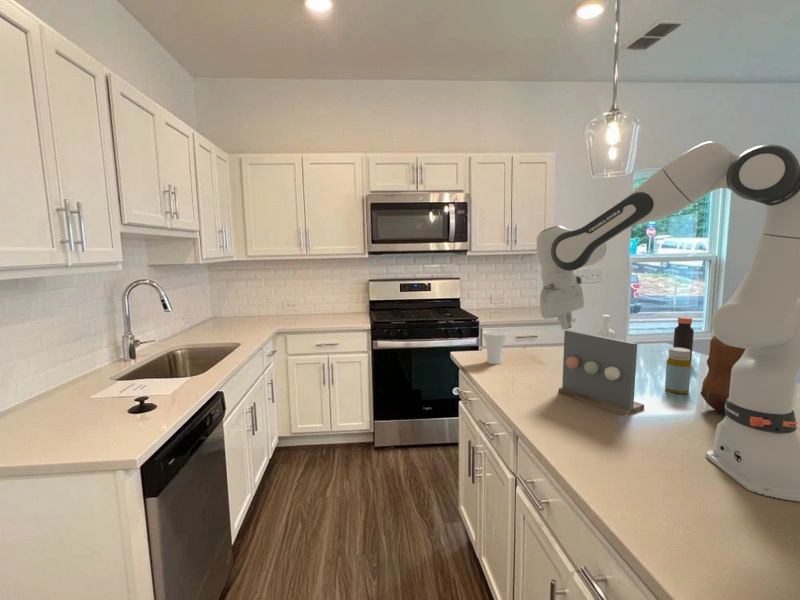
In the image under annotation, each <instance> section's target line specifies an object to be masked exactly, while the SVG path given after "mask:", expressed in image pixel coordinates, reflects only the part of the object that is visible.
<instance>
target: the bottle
mask: <svg viewBox="0 0 800 600" xmlns="http://www.w3.org/2000/svg"><path fill="white" fill-rule="evenodd" d="M690 353H691V351H690V350H689V349H686V348H679V347H673V346H672V347H669V349H668V358H667V359H666V366H665V380H664V389H665V390H666V391H667V392H669V393H672V394H676V393H678V395H685V394H686V395H687V394H688V393H689V391H690V383H691V371H692V361H691V362H690Z"/></svg>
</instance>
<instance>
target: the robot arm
mask: <svg viewBox="0 0 800 600" xmlns="http://www.w3.org/2000/svg"><path fill="white" fill-rule="evenodd" d="M719 189H728V190H730V191H731V192H732V193H733V194H734V195H736V196H737V197H740V198H742V199H743V200H747V201H753V202H757V203H760V204H763V205H764V207H765V213H766V215H765V219H764V222H763V227H762V229H761V233H760V236H759V239H758V242H757V245H756V250H755V252H754V255H753V259H752V262H751V264H750V267H749V268H748V271H747V273H746V275H745V276H744V278H743V280H742V281H741V282H740V284H739V286H738V287H737V289H736V290H735V292H734V294H732V296H731V297H730V298H729V300H728V301H726V302H725V303H724V304H723V305H722V306H720V307H719V308H718V309H716V311H715V312H714V313H713V316H712V318H711V329H712V332H713V334H714V335H715V336H716V337H717V338H718V339H719V340H720V341H721V342H723V343H724V344H726V345H729V346H733V347H738V348H745V351H744V353H743V355H742V356H741V358H740V359H739V360H738V361H737V362H736V363H735V364H734V366H733V367H732V370H731V379H730V389H729V398H727V399H726V403H725V413H724V414H725V416H724V418H723V419H722V420H721V421H720V422H718V424H716V429H715V435H714V439H713V443H712V444H713V447H712V449H711V450H707V451H706V453H705V457H706V458H707V459H708V460H709V461H711V462H712V463H713V464H715V465H716V466H717V467H719V469H721V470H722V471H723V472H725V473H726V474H727V475H728V476H730V477H731V478H732V479H733V480H735V481H736V482H737V483H739V484H740V485H741V486H742V487H744V488H745V489H747V490H748V491H750V492H752V493H755V492H756V494H759V495H762V494H763V495H762V496H766V497H770V496H771V497H770V498H774V497H775V499H779V498H780V499H781V500H787V501H793V502H800V438H799V436H798V434H797V429H798V426H797V425H798V424H799V423H798V422H797V418H796V415H795V411H794V410H793V405H794V397H795V390H796V383H797V378H798V375H799V373H800V163H799V160H798V158H797V156H796V155H795V154H794V153H793V151H791V150H790V149H788V148H786V147H784V146H782V145H778V144H763V145H761V144H760V145H757V146H754V147H751V148H750V149H747V150H746V151H745V150H744V152H742V153H739V154H736V153H734V152H732V151H731V150H729V149H728V147H726V145H723V144H721V143H720V142H719V143H718V142H715V141H706V142H703V143H700V144H699V145H697V146H694V147H692V148H691V149H689V150H687V151H685V152H683V153H682V154H680V155H679V156H676V158H674V159H673V160H671V161H669V162H668V163H666V164H665V165H664V166H662V167H660V168H659V169H658V170H657V171H655V172H654V173H653V174H652V175H650V176H649V177H648V178H646V180H644V182H642V183H641V184H640V185H639V186H638V187H637V188H635V189H634V190H633V191H632V192H630V193H629V194H628V195H627V196H626V197H624V198H623V199H622V200H621V201H620V202H618V203H617V204H615V205H614V206H612V207H611V208H610V209H608V210H607V211H605V212H604V213H602V214H600V215H599V216H598V217H596V218H594V219H593V220H592V221H590V222H588V223H587V224H586V225H584V226H582V227H581V228H580V227H579V228H578V229H575V230H574V229H569V228H566V227H564V226H562V225H555V226H551V227H549V228H546V229H543V230H542V231H541V232H539V233H538V235H537V237H536V252H537V258H538V262H539V264H540V267H541V268H540V269H541V272H540V274H541V281H542V285H543V287H542V289H541V292H540V295H539V304H540V305H539V306H540V307H539V308H540V314H541V316H542V318H543V319H545V320H547V319H555V318H557V320H558V322H559V324H560V327H561V329H562V330H563V331H565V330H569V329H570V328H572V327H573V325H572V319H573V312H575V311H577V310H580V309H583V308H584V305H585V299H584V292H583V287H582V284H583V279H582V277H581V276H579V275H577V274H576V273H574V271H576V270H578V269H580V268H585V267H589V266H592V265H595V264H597V263H598V262H600V261H601V260H603V258H604V257H605V255H606V251H607V244H606V243H607V242H608V241H611V239H614V238H615V237H617V236H618V235H620V234H621V233H622V232H624V231H626V230H628V229H629V228H633V227H635V226H637V225H640V224H644V223H647V222H651V221H652V222H653V221H657V220H662V219H663V220H664V219H665V218H667V217H670V216H672V215H673V214H677V213H678V212H681V211H682V210H684V209H686V208H687V207H689V206H690V205H692V204H694V203H695V202H697V201H698V200H700V199H702V198H703V197H704V196H707V195H708V194H709V193H711V192H714V191H716V190H719Z"/></svg>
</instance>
